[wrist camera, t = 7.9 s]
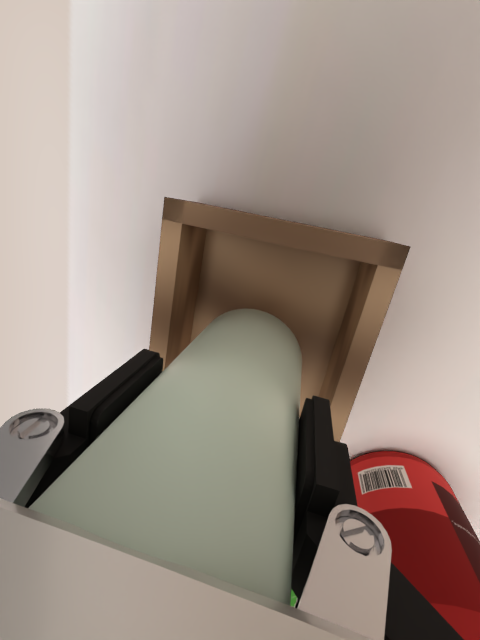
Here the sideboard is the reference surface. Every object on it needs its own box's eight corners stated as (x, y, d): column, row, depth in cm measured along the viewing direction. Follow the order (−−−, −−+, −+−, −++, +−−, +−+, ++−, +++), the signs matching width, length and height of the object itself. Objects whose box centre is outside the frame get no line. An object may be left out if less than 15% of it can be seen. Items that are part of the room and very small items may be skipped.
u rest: (197, 202, 19) (164, 197, 15) (385, 240, 17) (410, 246, 13) (174, 375, 23) (142, 411, 19) (325, 419, 21) (329, 469, 17)
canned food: (308, 499, 24) (306, 712, 13) (373, 425, 21) (436, 625, 11) (397, 553, 23) (466, 813, 13) (476, 486, 21) (642, 752, 10)
